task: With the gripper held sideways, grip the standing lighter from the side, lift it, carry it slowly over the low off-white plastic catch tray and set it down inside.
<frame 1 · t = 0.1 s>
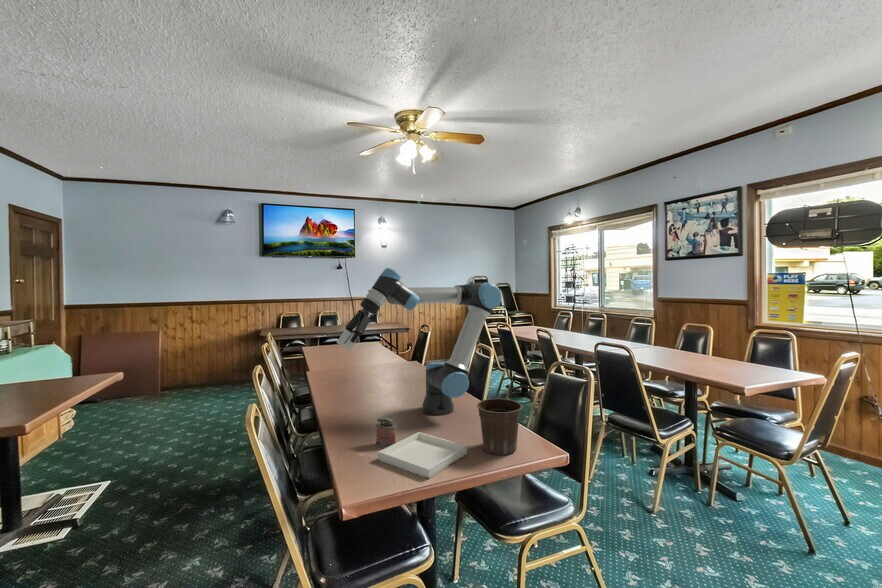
hand: (342, 346, 152), 36 cm above the table, tool tilted 35°, fingers open, 13 cm apart
plant pot: (499, 449, 142), on the table
lighter: (385, 445, 145), on the table
catch tray: (423, 457, 134), on the table
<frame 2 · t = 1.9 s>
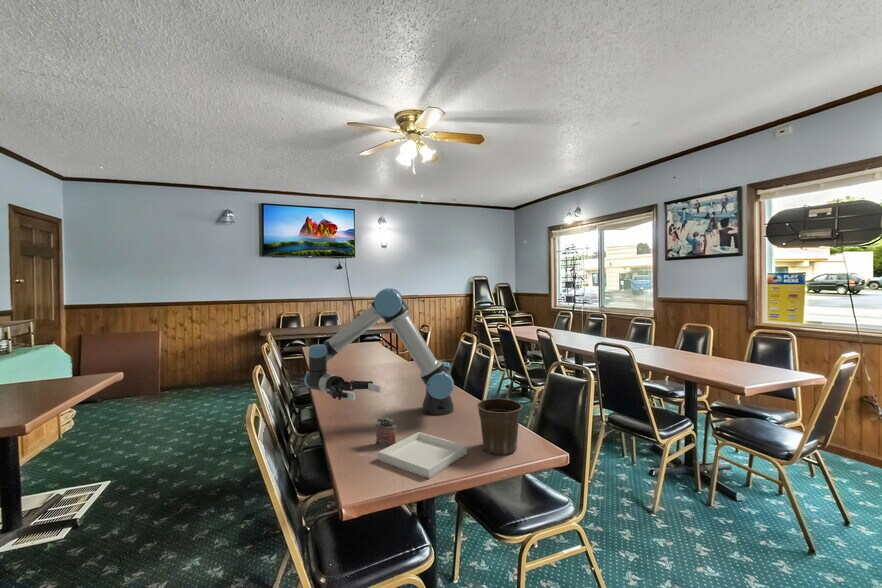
hand: (367, 392, 150), 18 cm above the table, tool horizontal, fingers open, 13 cm apart
nothing on the table moved.
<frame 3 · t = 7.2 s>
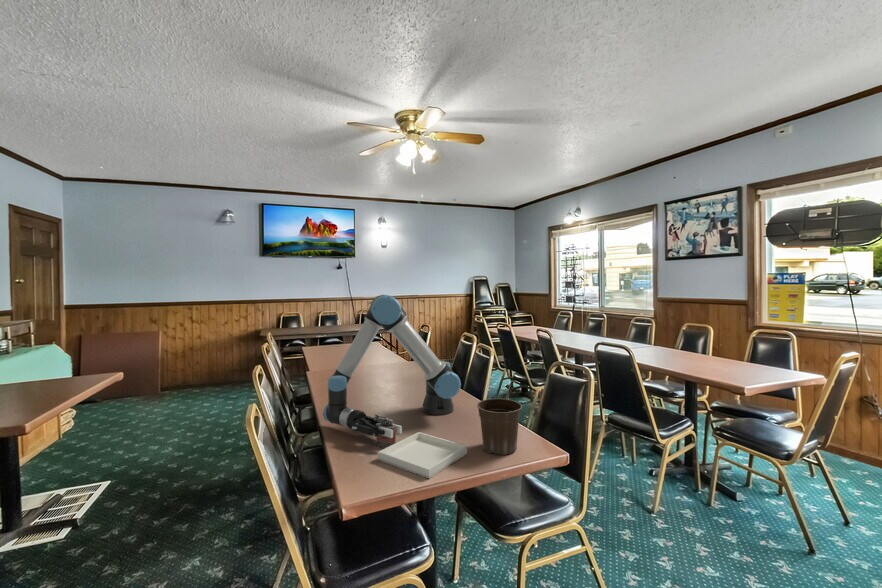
hand: (396, 431, 142), 6 cm above the table, tool horizontal, fingers closed on lighter, 4 cm apart
lighter: (385, 445, 145), on the table, touching gripper
everything else where it was.
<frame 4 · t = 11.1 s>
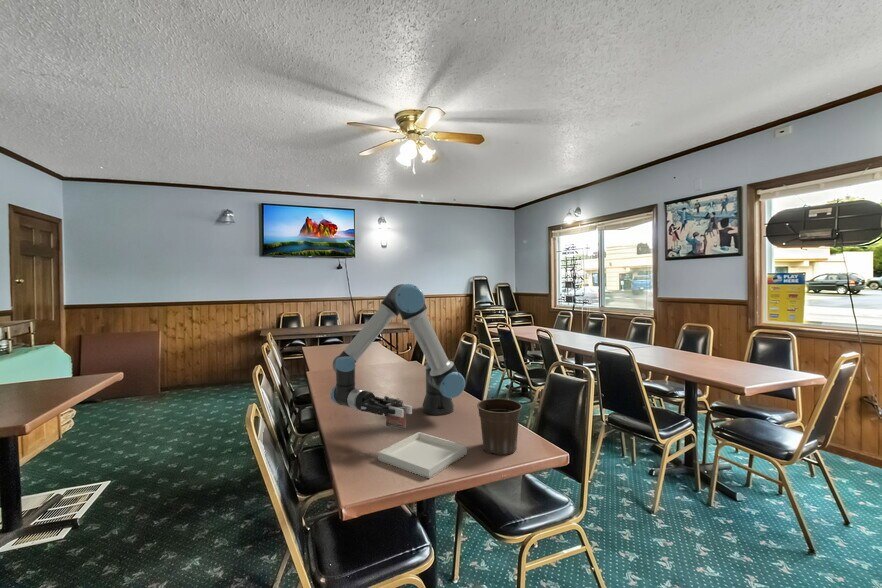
hand: (407, 411, 137), 15 cm above the table, tool horizontal, fingers closed on lighter, 4 cm apart
lighter: (395, 426, 140), point 9 cm above the table, touching gripper
everything else where it was.
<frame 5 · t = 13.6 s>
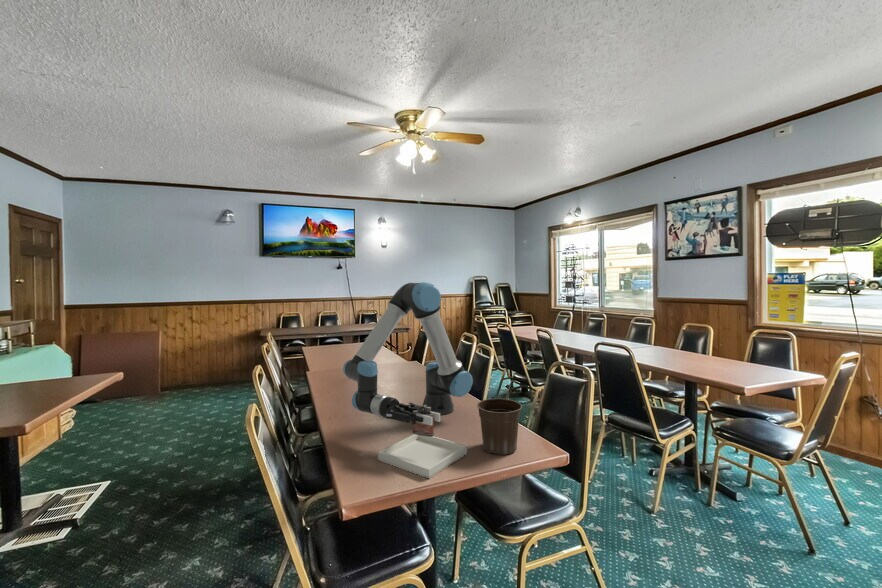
hand: (435, 419, 131), 14 cm above the table, tool horizontal, fingers closed on lighter, 4 cm apart
lighter: (423, 434, 134), point 8 cm above the table, touching gripper
everything else where it was.
when the fingers open (8 cm above the table, at t = 15.0 s): lighter drops 1 cm, resting on catch tray.
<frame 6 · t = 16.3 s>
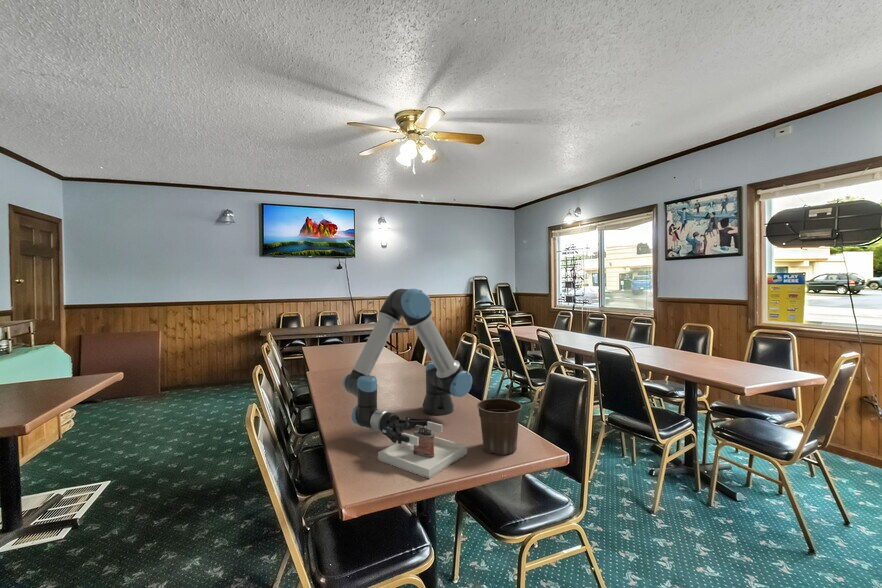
hand: (430, 435, 132), 9 cm above the table, tool horizontal, fingers open, 13 cm apart
lighter: (423, 455, 134), point 1 cm above the table, touching catch tray
everything else where it was.
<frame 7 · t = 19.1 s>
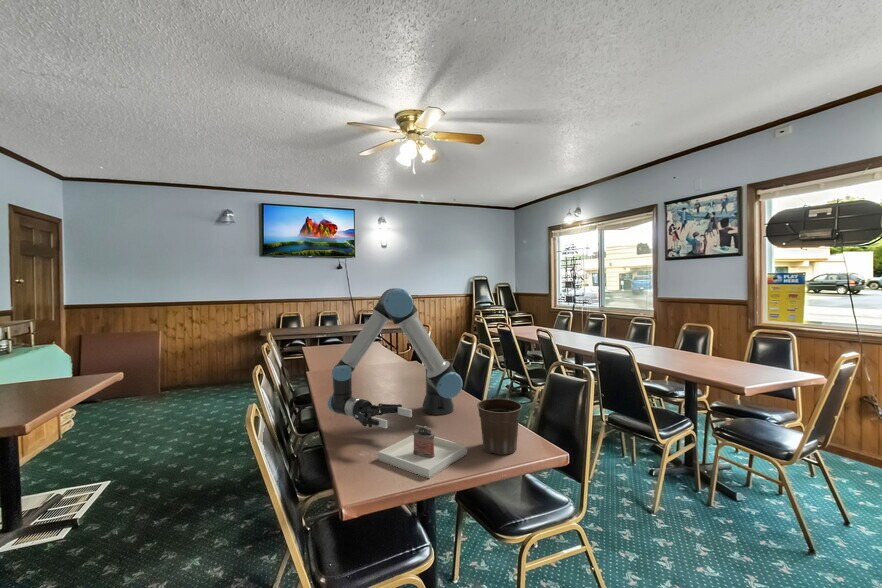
hand: (399, 418, 141), 11 cm above the table, tool horizontal, fingers open, 13 cm apart
nothing on the table moved.
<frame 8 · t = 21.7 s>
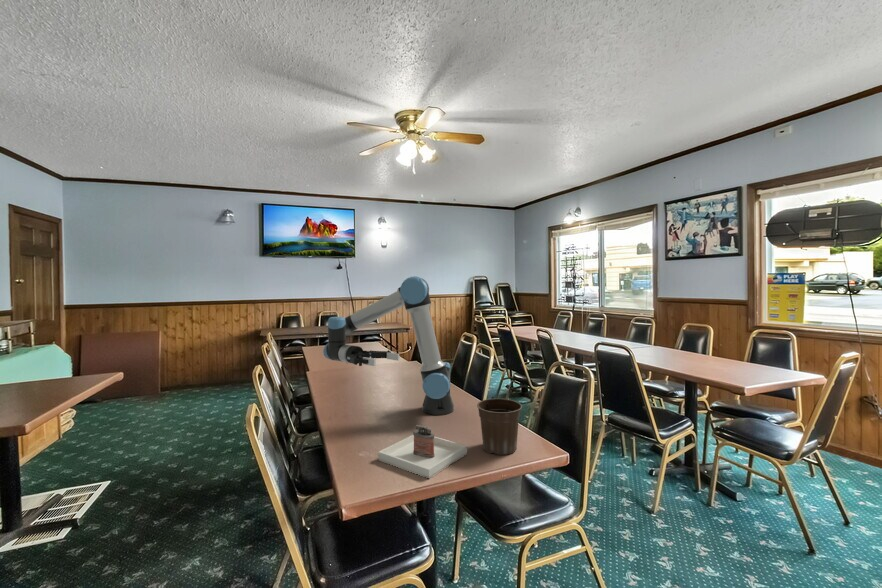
hand: (387, 359, 155), 30 cm above the table, tool horizontal, fingers open, 13 cm apart
nothing on the table moved.
at the end: lighter inside the target area on the catch tray (0.1 cm from its centre), point 0.6 cm above the catch tray's base; the gripper is holding nothing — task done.
